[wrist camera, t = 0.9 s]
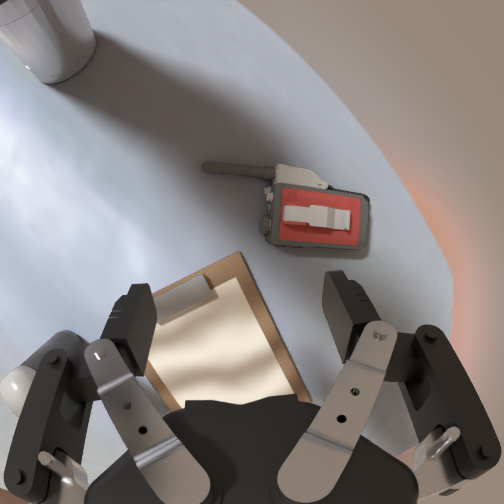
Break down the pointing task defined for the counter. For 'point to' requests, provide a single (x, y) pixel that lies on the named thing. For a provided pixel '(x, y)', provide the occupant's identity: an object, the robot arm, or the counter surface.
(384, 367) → the robot arm
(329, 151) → the counter surface
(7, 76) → the counter surface
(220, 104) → the counter surface
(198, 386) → the clipboard
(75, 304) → the counter surface
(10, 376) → the bottle
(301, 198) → the walkie-talkie
